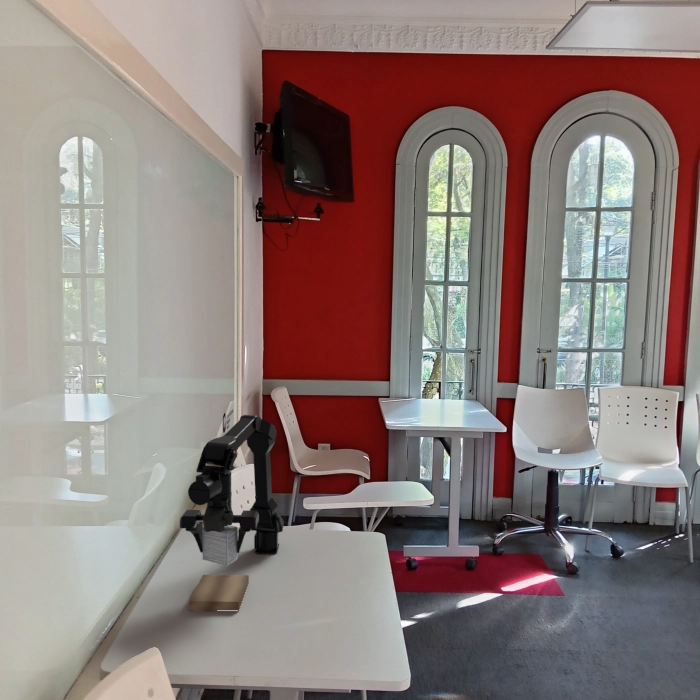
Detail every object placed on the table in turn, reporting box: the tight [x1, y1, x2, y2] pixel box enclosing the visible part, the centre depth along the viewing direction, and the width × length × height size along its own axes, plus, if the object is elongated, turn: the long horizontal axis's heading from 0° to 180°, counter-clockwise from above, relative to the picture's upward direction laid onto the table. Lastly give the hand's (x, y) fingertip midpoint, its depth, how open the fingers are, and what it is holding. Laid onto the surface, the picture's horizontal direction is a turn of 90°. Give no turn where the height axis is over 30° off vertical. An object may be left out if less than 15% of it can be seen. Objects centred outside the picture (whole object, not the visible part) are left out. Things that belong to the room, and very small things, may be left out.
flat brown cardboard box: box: [188, 574, 250, 612], centre depth 152 cm, size 12×14×3 cm
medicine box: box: [201, 525, 239, 566], centre depth 151 cm, size 8×4×9 cm, turn 65°
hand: (220, 552), depth 151 cm, fingers closed on medicine box, 9 cm apart
